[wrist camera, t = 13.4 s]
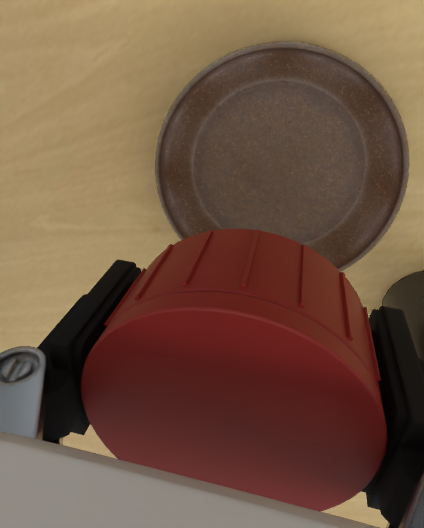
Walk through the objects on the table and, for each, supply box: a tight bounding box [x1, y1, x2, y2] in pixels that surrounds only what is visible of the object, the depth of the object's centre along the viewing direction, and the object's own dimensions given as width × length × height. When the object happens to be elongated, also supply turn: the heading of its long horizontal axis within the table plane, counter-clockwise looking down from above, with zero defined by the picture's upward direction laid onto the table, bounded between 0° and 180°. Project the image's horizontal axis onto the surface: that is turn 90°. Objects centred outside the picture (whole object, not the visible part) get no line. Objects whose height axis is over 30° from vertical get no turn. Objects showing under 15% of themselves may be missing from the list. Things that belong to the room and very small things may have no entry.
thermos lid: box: [81, 229, 387, 511], centre depth 10 cm, size 7×7×4 cm
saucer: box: [155, 42, 409, 271], centre depth 24 cm, size 15×15×3 cm
